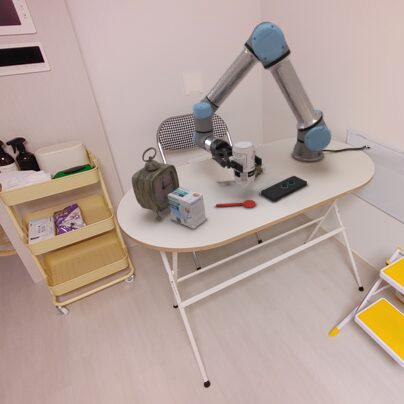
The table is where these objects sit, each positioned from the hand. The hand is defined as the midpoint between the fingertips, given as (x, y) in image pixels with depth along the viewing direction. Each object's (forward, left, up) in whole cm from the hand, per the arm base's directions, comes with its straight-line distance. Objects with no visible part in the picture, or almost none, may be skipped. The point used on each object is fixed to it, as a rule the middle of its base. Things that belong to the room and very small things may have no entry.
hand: (251, 165), depth 112 cm
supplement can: (+3, -4, -8) cm, 9 cm away
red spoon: (+7, +4, -15) cm, 17 cm away
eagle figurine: (-2, -20, -15) cm, 25 cm away
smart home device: (-14, -6, -15) cm, 21 cm away
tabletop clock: (+35, +4, -15) cm, 38 cm away
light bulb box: (+24, +11, -15) cm, 30 cm away
